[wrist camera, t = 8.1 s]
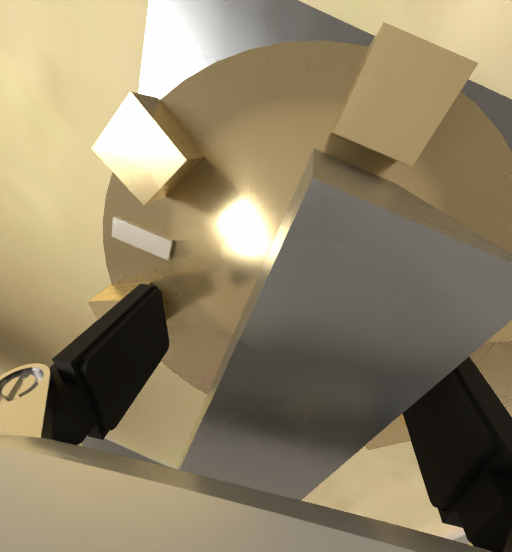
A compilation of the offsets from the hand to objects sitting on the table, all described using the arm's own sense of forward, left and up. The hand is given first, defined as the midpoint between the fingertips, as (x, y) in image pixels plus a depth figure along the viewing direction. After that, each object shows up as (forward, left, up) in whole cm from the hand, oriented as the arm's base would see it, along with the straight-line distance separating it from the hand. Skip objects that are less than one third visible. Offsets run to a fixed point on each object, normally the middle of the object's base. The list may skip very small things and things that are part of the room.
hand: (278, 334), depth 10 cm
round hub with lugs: (0, 0, -6) cm, 6 cm away
